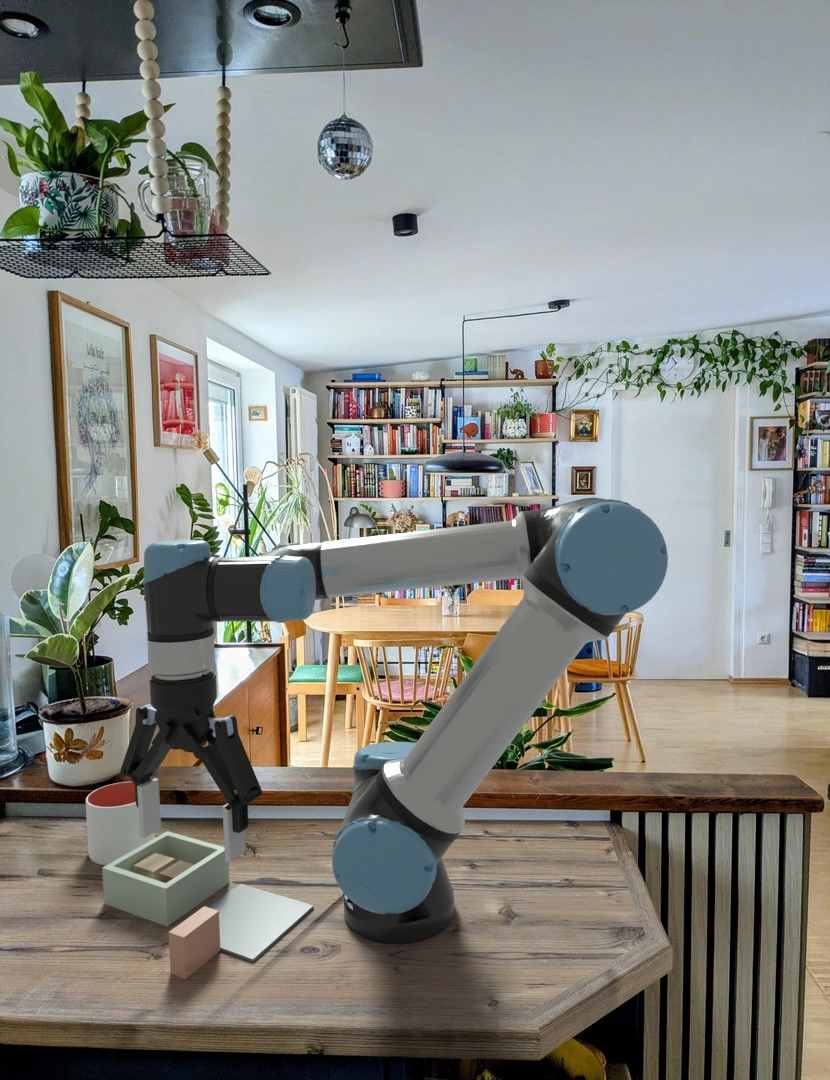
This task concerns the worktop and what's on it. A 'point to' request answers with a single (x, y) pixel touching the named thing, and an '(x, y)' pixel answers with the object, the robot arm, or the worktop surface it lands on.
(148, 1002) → the worktop surface
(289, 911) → the lid
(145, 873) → the part
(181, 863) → the part
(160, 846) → the tub
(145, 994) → the worktop surface
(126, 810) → the cup
